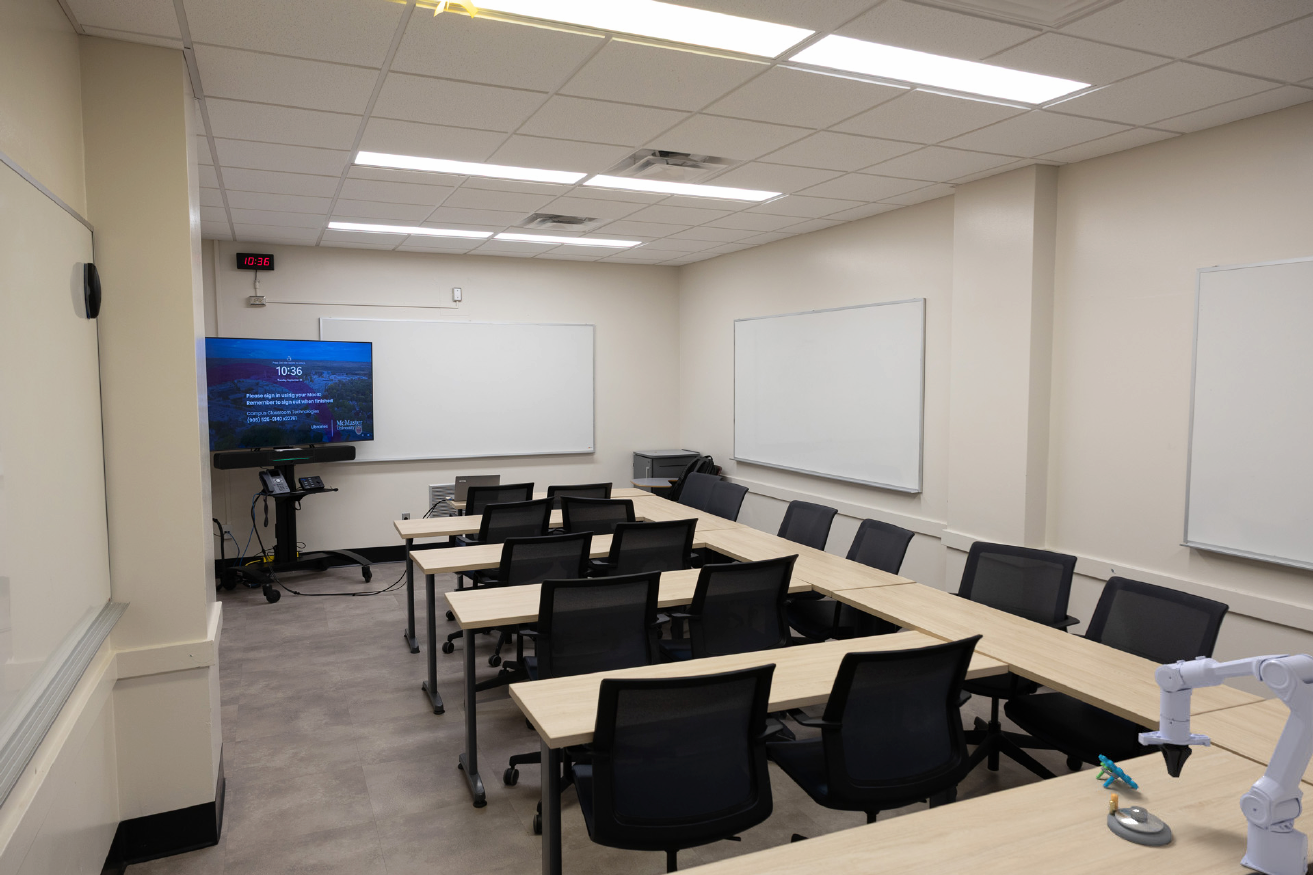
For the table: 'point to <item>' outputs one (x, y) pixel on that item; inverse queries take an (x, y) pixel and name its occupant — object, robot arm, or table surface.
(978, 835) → the table surface
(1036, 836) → the table surface
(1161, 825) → the flange
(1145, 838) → the post base
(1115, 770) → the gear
